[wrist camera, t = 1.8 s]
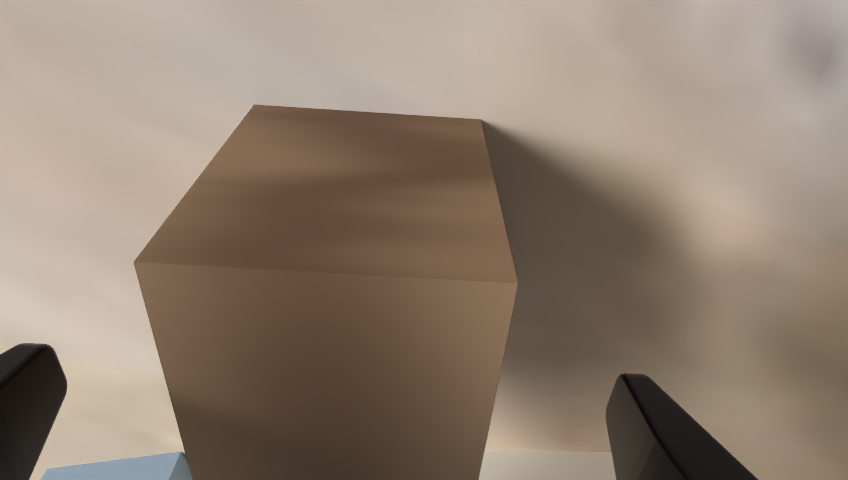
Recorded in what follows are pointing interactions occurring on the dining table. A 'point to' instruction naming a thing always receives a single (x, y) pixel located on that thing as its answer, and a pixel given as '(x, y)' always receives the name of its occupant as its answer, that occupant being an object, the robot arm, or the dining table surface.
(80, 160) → the dining table surface
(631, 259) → the dining table surface
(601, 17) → the dining table surface
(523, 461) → the pedestal block
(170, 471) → the slate-blue cube
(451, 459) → the walnut cube
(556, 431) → the dining table surface
